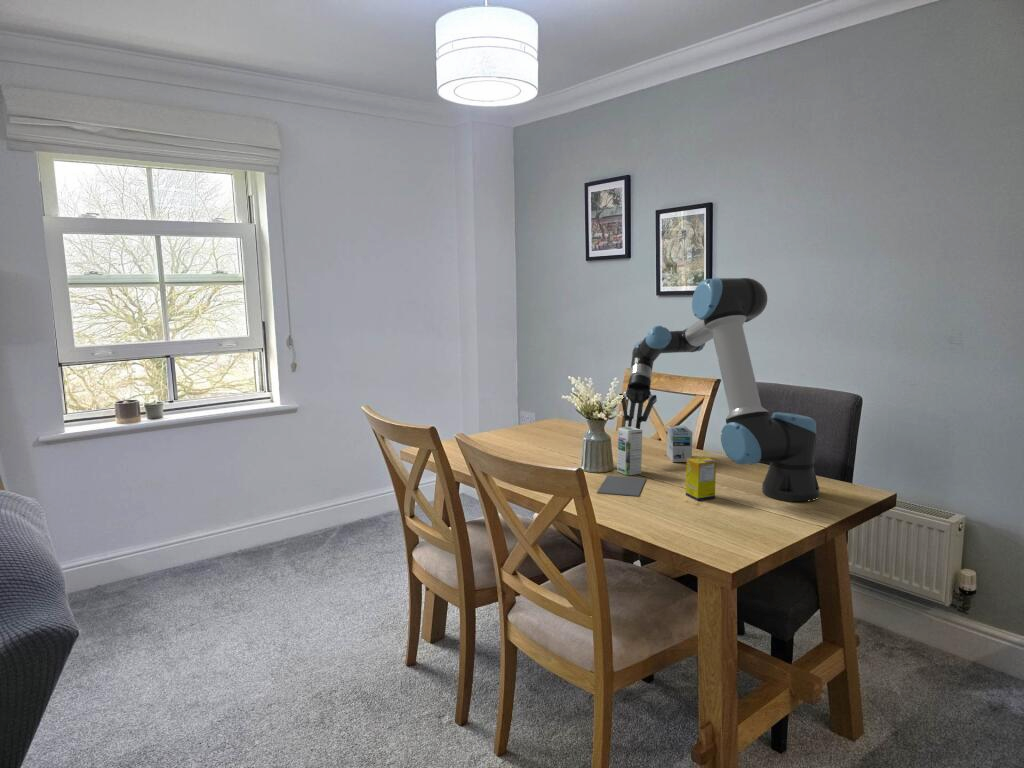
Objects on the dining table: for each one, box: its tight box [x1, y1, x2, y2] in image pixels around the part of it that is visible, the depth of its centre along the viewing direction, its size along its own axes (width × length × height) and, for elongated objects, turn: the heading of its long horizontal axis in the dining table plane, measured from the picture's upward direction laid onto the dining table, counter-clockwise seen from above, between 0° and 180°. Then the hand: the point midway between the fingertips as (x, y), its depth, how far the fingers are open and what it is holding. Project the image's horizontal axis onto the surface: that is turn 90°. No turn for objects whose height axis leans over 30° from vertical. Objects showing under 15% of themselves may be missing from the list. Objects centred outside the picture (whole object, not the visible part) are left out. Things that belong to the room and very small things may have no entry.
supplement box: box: [685, 456, 717, 502], centre depth 192 cm, size 6×6×11 cm
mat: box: [596, 475, 647, 498], centre depth 203 cm, size 18×12×1 cm, turn 162°
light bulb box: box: [666, 425, 693, 463], centre depth 233 cm, size 11×7×11 cm, turn 179°
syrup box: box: [616, 426, 643, 477], centre depth 216 cm, size 6×6×14 cm
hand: (632, 437), depth 222 cm, fingers closed
